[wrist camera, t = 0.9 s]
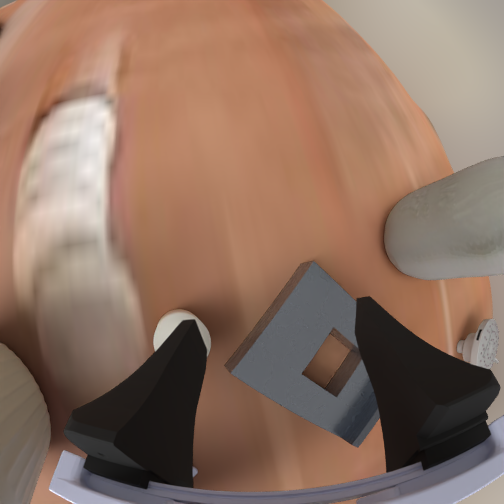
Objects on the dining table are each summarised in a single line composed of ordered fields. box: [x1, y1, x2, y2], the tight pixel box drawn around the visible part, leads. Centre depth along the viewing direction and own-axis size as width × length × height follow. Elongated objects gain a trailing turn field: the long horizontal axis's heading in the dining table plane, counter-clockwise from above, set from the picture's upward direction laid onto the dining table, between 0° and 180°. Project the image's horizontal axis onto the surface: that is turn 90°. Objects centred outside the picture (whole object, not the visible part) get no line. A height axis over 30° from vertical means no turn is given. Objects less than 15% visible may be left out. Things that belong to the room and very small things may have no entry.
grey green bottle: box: [384, 156, 504, 280], centre depth 18 cm, size 10×10×28 cm
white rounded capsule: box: [153, 309, 211, 357], centre depth 20 cm, size 4×4×5 cm
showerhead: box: [457, 319, 499, 369], centre depth 30 cm, size 9×7×10 cm
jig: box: [225, 261, 380, 447], centre depth 24 cm, size 12×16×4 cm
